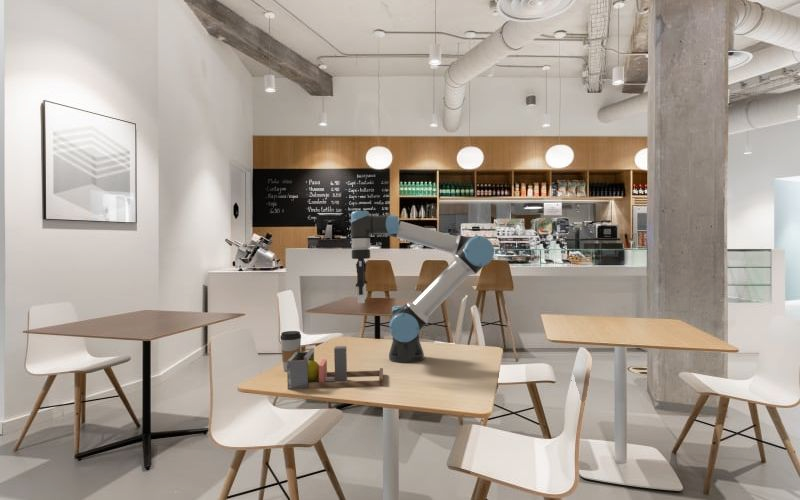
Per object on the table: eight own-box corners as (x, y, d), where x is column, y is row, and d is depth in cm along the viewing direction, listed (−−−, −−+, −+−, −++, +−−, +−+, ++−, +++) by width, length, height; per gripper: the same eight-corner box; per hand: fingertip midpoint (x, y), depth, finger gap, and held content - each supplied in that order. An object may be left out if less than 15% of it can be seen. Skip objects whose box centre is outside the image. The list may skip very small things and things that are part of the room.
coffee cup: (296, 372, 188) (296, 334, 188) (277, 371, 190) (276, 334, 190) (305, 367, 196) (304, 330, 196) (286, 366, 198) (285, 330, 198)
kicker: (347, 376, 179) (346, 344, 179) (345, 383, 169) (344, 350, 169) (322, 377, 179) (322, 345, 179) (319, 384, 169) (318, 350, 169)
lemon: (317, 378, 179) (317, 356, 178) (325, 383, 172) (325, 361, 172) (289, 382, 173) (289, 360, 173) (296, 388, 166) (296, 365, 166)
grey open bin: (314, 376, 181) (313, 348, 181) (307, 388, 166) (307, 357, 166) (296, 376, 181) (295, 348, 181) (287, 388, 166) (286, 358, 166)
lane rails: (383, 374, 182) (382, 368, 182) (382, 385, 167) (382, 378, 167) (314, 376, 181) (314, 370, 181) (308, 388, 166) (307, 381, 166)
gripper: (353, 249, 207) (354, 298, 207) (349, 249, 182) (350, 304, 182) (370, 248, 207) (372, 297, 207) (368, 248, 182) (370, 304, 182)
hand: (362, 301), depth 195 cm, fingers open, 13 cm apart
